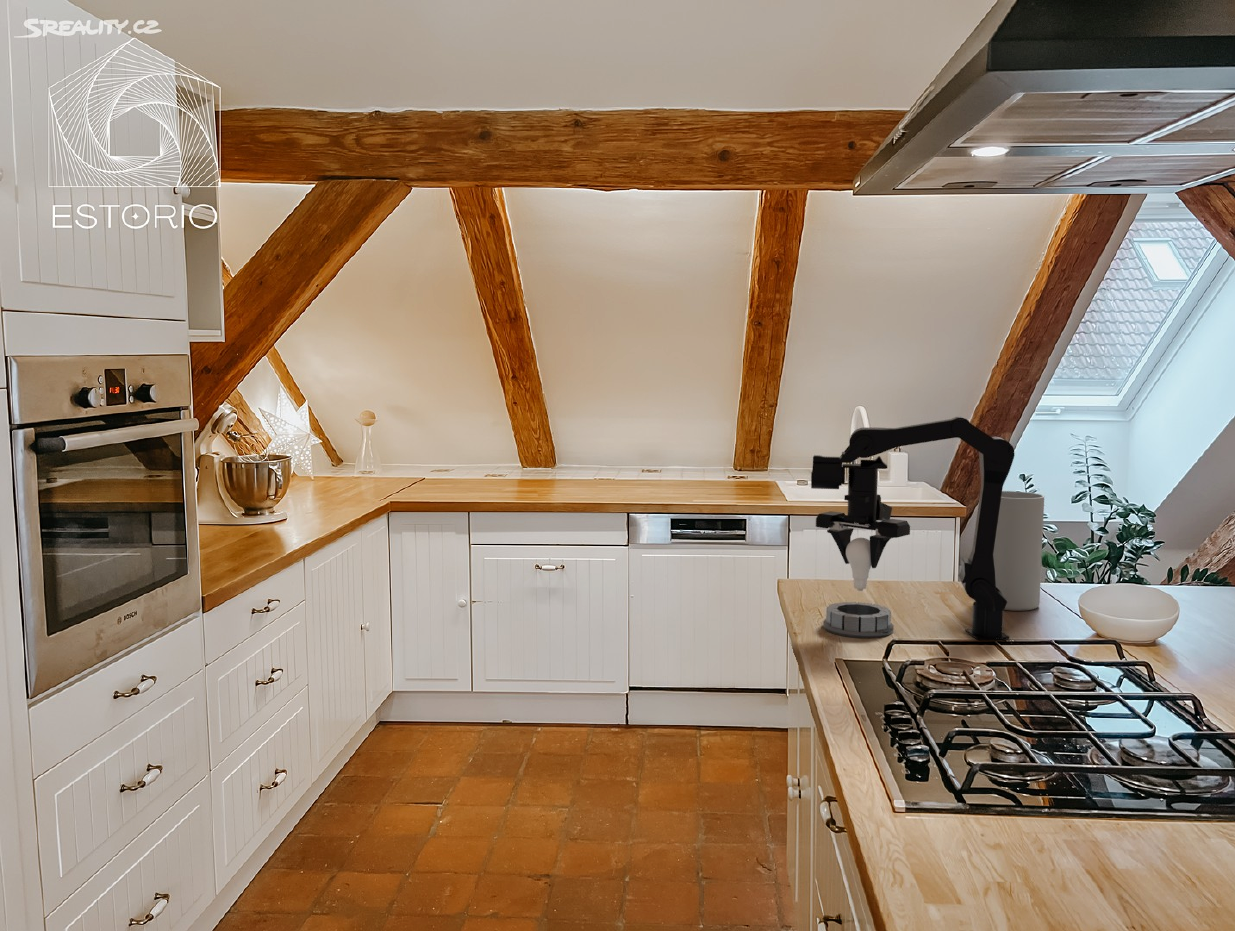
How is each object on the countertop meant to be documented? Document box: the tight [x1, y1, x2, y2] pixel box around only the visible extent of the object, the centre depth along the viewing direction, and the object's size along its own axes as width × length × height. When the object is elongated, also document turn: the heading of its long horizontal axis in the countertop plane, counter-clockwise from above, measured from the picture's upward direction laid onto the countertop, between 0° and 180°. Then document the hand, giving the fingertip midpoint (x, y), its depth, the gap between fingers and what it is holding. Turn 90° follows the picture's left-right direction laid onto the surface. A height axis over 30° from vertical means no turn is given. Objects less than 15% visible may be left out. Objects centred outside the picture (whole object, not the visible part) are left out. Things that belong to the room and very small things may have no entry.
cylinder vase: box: [993, 490, 1045, 612], centre depth 217 cm, size 12×12×25 cm
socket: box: [822, 601, 895, 639], centre depth 199 cm, size 14×14×4 cm
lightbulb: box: [846, 537, 872, 592], centre depth 198 cm, size 6×6×11 cm
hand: (860, 565), depth 198 cm, fingers closed on lightbulb, 6 cm apart
